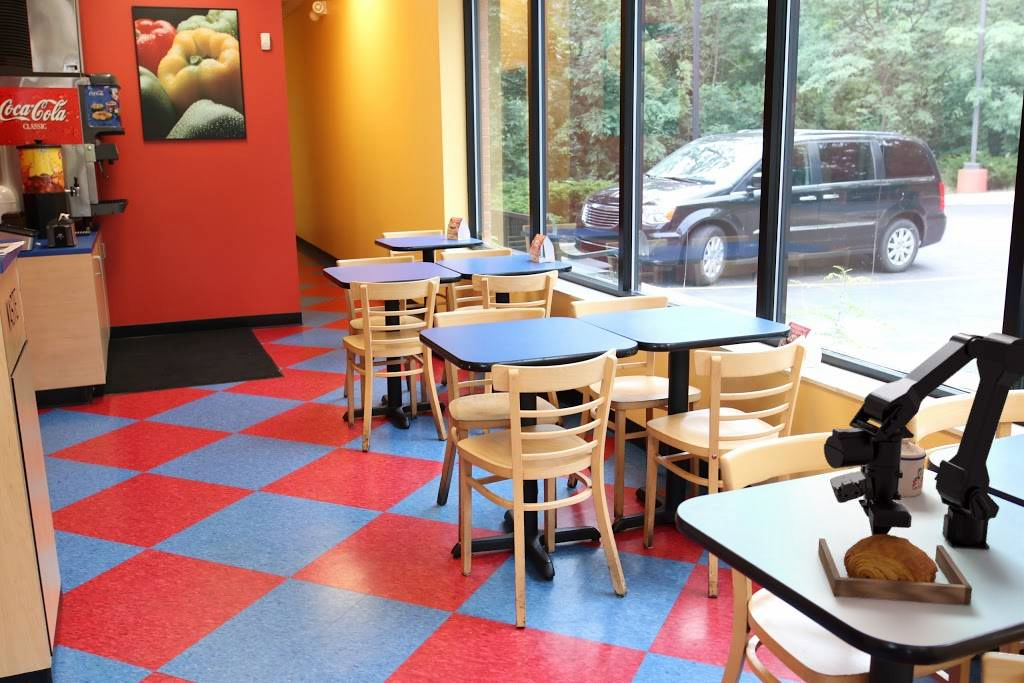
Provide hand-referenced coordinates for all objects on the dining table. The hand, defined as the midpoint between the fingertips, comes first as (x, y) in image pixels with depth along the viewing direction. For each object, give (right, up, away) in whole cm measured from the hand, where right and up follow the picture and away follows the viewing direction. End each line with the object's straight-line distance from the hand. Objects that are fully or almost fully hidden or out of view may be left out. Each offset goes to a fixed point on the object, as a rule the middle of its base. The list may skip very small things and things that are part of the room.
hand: (876, 543), depth 162 cm
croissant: (-1, -4, -9) cm, 10 cm away
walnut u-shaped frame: (-1, -4, -9) cm, 10 cm away
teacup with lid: (+18, +5, +32) cm, 37 cm away
